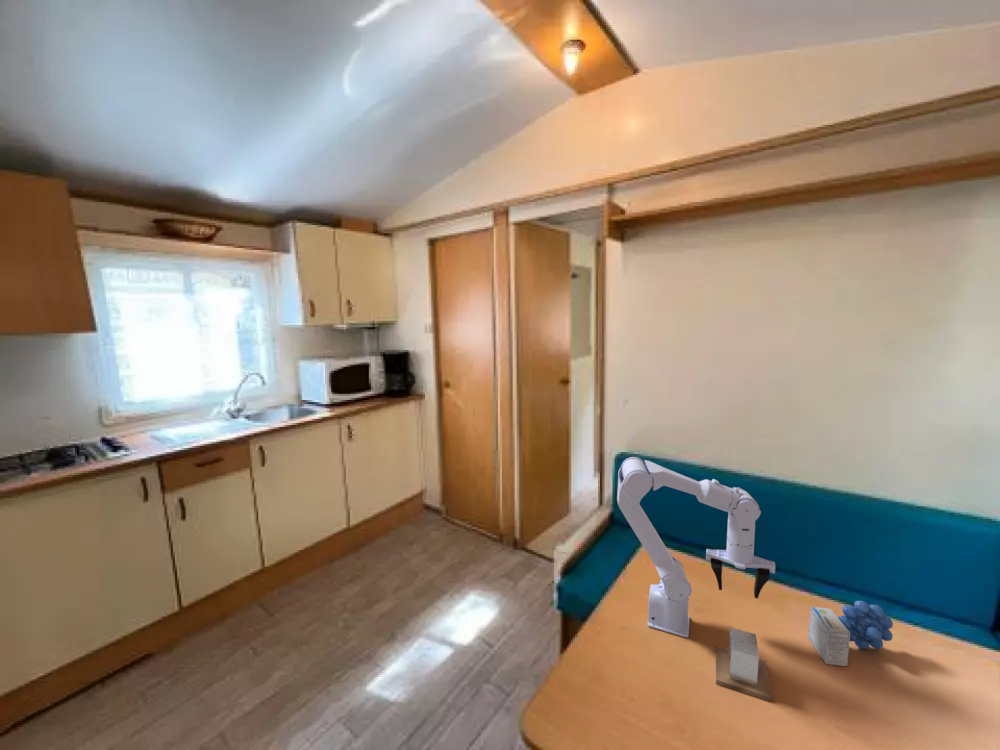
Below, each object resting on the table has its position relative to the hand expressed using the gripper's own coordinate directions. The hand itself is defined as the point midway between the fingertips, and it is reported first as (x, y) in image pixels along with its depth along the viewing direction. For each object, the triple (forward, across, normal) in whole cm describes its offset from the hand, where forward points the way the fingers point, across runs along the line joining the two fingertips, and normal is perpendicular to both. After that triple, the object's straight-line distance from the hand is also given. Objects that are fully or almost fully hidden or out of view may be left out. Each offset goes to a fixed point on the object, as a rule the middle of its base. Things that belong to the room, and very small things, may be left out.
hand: (737, 591), depth 104 cm
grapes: (+11, +26, +5) cm, 29 cm away
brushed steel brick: (+9, 0, -14) cm, 17 cm away
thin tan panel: (+10, 0, -14) cm, 17 cm away
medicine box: (+11, +18, +1) cm, 22 cm away
